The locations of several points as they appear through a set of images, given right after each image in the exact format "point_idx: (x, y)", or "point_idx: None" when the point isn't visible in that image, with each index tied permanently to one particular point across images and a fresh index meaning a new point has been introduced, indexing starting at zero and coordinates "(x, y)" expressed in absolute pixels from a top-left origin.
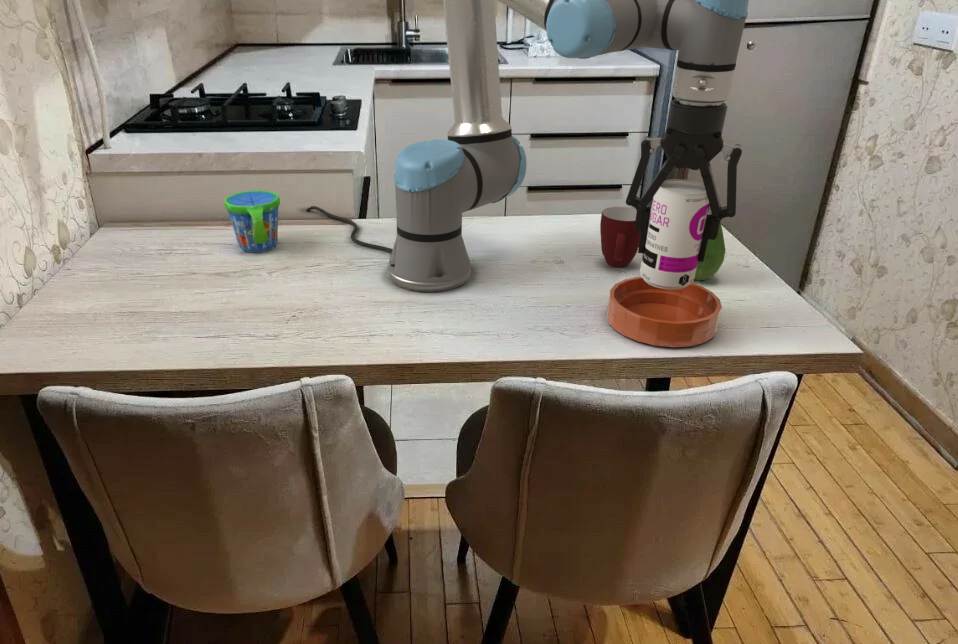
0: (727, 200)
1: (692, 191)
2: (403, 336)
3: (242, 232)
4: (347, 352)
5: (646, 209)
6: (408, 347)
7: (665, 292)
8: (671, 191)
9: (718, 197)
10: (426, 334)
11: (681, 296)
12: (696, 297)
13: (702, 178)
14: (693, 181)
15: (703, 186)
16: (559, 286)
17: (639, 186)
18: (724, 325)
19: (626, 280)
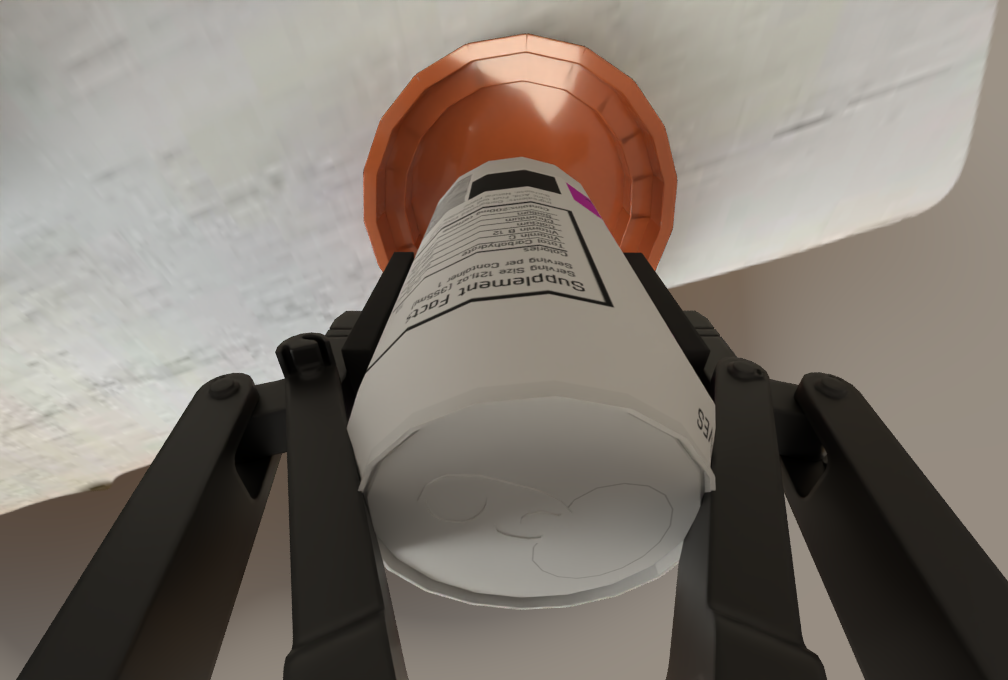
0: (798, 517)
1: (592, 555)
2: (92, 404)
3: None
4: (72, 459)
5: (356, 384)
6: (131, 428)
7: (519, 80)
8: (465, 579)
9: (774, 437)
10: (116, 389)
11: (570, 93)
12: (616, 94)
13: (669, 662)
14: (624, 411)
15: (691, 467)
16: (178, 35)
17: (251, 545)
18: (679, 156)
19: (388, 128)
